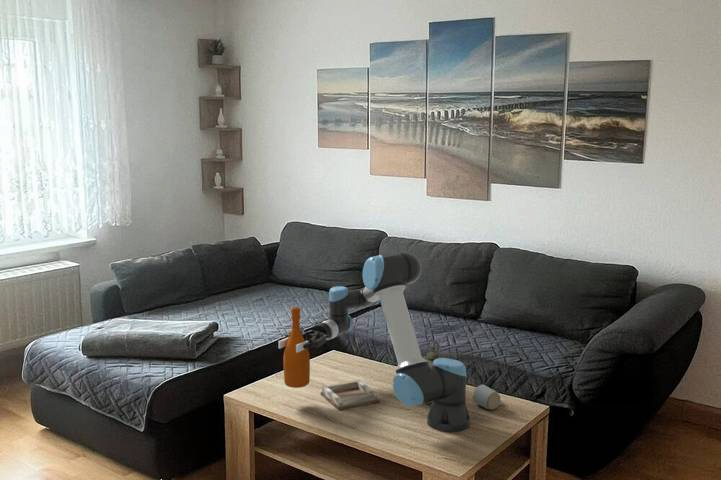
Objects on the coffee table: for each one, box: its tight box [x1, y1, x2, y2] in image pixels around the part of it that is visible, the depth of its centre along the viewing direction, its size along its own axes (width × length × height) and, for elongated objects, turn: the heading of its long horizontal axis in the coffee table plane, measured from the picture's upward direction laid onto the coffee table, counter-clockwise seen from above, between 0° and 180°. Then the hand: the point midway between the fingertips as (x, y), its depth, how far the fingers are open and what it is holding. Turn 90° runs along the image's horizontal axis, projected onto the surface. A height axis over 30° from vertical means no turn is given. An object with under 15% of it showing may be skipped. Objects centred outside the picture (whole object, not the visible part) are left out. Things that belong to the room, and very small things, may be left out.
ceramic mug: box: [472, 384, 503, 411], centre depth 286 cm, size 11×8×8 cm
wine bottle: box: [283, 306, 311, 389], centre depth 285 cm, size 10×10×30 cm
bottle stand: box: [320, 379, 380, 411], centre depth 294 cm, size 17×17×4 cm
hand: (287, 346), depth 281 cm, fingers closed on wine bottle, 8 cm apart
